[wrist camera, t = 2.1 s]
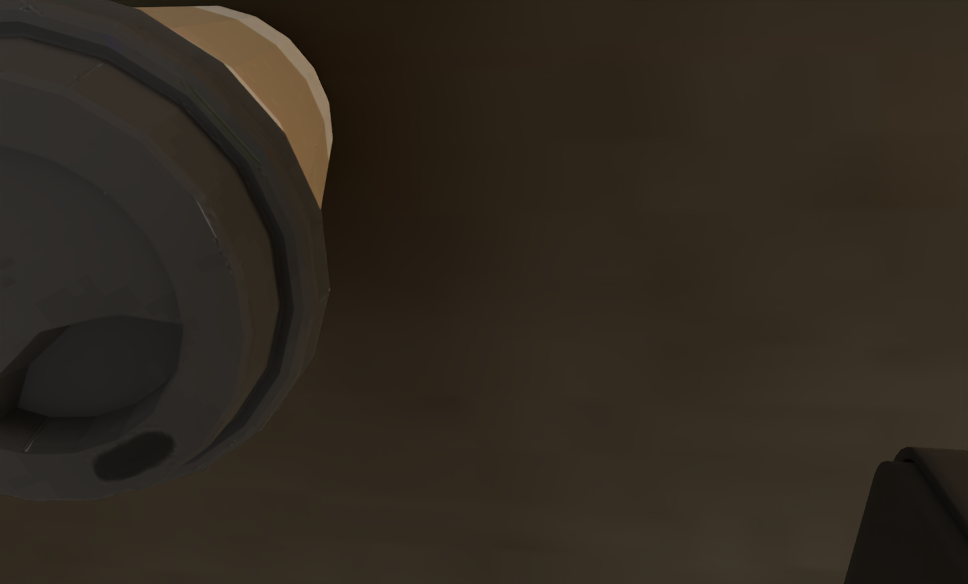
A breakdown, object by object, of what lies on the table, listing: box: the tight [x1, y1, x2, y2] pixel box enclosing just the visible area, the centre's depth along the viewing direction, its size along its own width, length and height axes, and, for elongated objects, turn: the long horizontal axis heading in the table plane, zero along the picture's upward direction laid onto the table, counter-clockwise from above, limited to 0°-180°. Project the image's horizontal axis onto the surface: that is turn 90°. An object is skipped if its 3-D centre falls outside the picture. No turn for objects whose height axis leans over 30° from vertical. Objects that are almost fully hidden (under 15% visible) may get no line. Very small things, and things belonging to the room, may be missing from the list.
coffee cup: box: [0, 0, 333, 501], centre depth 24 cm, size 11×11×15 cm
